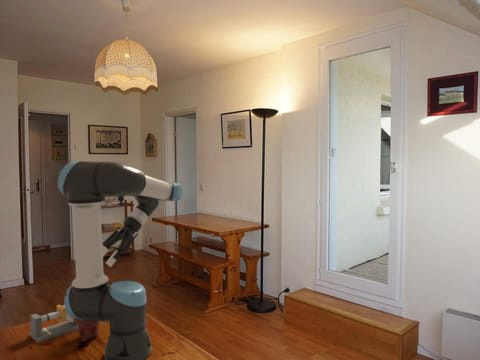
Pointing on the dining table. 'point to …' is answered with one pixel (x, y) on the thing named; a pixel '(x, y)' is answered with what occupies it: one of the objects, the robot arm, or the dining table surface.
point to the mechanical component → (87, 328)
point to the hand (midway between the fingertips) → (102, 262)
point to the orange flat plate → (62, 309)
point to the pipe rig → (50, 331)
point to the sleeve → (68, 315)
